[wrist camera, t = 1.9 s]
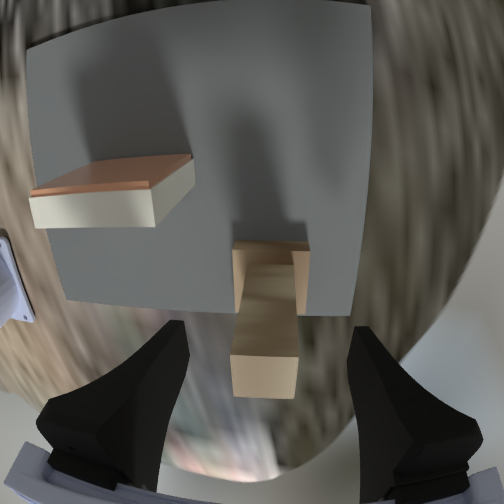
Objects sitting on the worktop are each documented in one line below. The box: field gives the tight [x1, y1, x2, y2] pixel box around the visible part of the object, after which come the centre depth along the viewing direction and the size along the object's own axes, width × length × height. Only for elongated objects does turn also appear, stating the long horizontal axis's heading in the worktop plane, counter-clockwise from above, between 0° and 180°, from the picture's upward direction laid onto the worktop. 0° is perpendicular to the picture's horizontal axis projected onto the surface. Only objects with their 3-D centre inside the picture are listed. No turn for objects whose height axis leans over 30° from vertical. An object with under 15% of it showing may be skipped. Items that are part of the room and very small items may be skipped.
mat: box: [27, 0, 373, 316], centre depth 17 cm, size 20×18×1 cm
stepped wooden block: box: [230, 240, 310, 399], centre depth 15 cm, size 4×4×8 cm
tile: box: [29, 153, 195, 229], centre depth 14 cm, size 6×2×6 cm, turn 91°
